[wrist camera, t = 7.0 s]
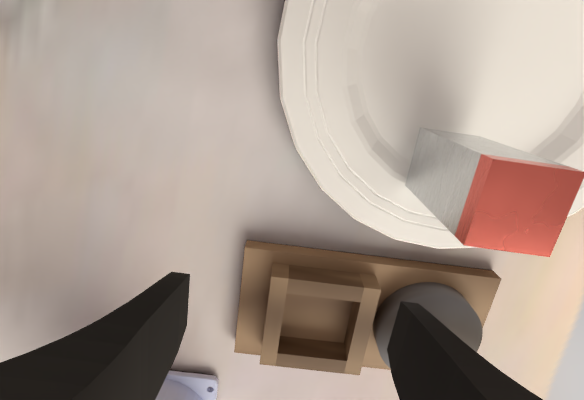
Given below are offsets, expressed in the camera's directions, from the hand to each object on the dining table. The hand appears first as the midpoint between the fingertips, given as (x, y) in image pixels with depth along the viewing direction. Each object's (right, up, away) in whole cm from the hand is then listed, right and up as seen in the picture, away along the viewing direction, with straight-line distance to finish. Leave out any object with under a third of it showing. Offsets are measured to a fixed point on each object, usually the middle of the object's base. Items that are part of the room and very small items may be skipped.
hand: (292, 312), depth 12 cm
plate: (+10, +11, +7) cm, 17 cm away
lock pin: (+8, +6, +7) cm, 12 cm away
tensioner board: (+4, -4, +12) cm, 13 cm away
